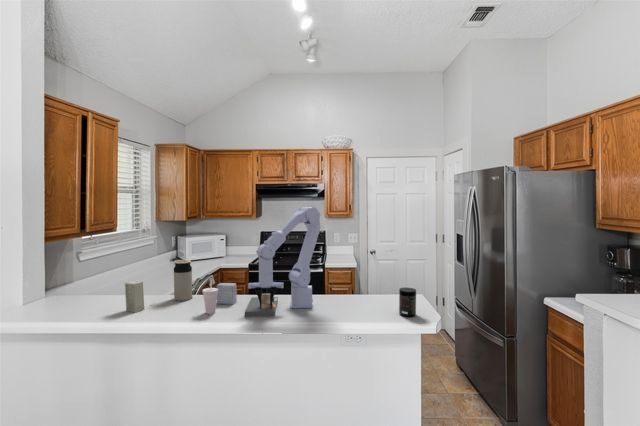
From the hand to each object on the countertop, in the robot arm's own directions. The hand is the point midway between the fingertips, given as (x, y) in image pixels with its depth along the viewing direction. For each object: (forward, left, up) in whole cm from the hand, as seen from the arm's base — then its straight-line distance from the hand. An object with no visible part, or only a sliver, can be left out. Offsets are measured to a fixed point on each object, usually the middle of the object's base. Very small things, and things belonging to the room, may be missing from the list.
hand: (266, 304), depth 146 cm
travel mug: (+41, -21, -3) cm, 46 cm away
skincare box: (+56, -5, -3) cm, 56 cm away
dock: (+2, -4, -3) cm, 5 cm away
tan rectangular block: (0, 0, -2) cm, 2 cm away
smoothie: (+23, 0, -3) cm, 23 cm away
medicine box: (+19, -13, -3) cm, 23 cm away
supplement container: (-58, +8, -3) cm, 59 cm away
